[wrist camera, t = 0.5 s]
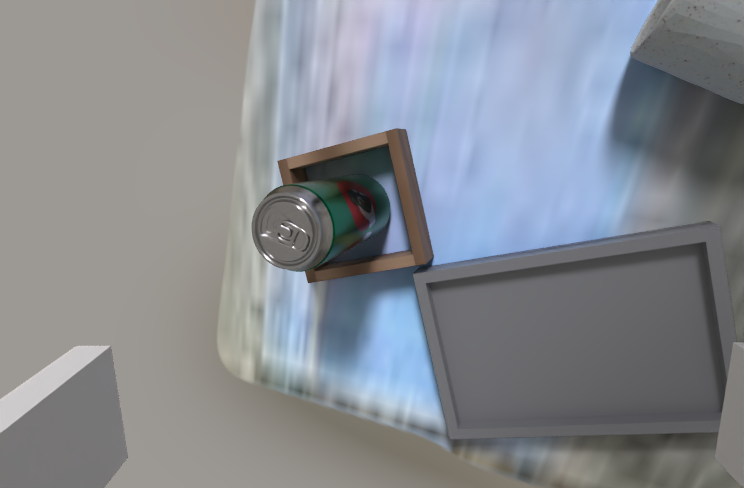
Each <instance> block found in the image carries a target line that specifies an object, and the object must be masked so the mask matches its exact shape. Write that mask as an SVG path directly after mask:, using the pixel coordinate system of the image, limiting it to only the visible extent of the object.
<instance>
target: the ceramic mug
mask: <svg viewBox="0 0 744 488" xmlns="http://www.w3.org/2000/svg"><path fill="white" fill-rule="evenodd" d="M630 54H631V57H632V58H633V59H635V60H637V61H640V62H642V63H644V64H647V65H649V66H652V67H655V68H657V69H659V70H661V71H664V72H666V73H668V74H671V75H673V76H675V77H678V78H680V79H682V80H685V81H687V82H689V83H692V84H695V85H697V86H700V87H702V88H704V89H707V90H709V91H711V92H713V93H716V94H718V95H720V96H722V97H724V98H727V99H729V100H732V101H734V102H737V103H740V104H744V0H658V1H657V3H656V5H655V6H654V8H653V10H652V11H651V13H650V15H649V16H648V18H647V19H646V22H645V23H644V25H643V27H642V29H641V30H640V32H639V34H638V36H637V38H636V40H635V42H634V44H633V46H632V48H631V52H630Z"/></svg>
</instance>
